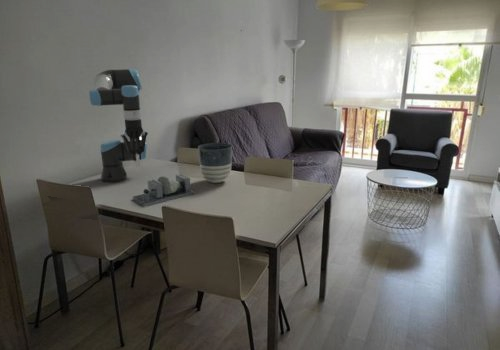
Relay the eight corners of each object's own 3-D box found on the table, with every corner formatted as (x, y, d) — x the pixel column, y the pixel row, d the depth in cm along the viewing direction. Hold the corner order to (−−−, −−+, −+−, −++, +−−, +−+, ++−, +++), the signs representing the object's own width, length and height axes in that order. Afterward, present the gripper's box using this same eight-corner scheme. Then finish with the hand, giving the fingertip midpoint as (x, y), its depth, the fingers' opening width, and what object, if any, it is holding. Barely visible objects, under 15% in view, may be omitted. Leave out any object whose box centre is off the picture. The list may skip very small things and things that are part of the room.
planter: (193, 184, 215) (191, 148, 209) (209, 175, 232) (208, 142, 226) (224, 188, 208) (222, 150, 202) (238, 178, 225) (237, 144, 219)
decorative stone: (161, 197, 189) (172, 181, 188) (149, 186, 194) (160, 170, 194) (177, 202, 200) (187, 187, 200) (165, 191, 206) (175, 177, 205)
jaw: (140, 195, 192) (138, 181, 190) (154, 192, 197) (152, 178, 195) (148, 200, 185) (147, 186, 183) (162, 197, 190) (161, 183, 188)
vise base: (132, 199, 192) (131, 182, 190) (180, 187, 209) (179, 172, 207) (144, 206, 182) (142, 189, 179) (193, 193, 199) (192, 177, 196)
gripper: (122, 121, 169) (128, 170, 176) (149, 118, 177) (153, 165, 184) (116, 119, 175) (121, 167, 182) (142, 116, 183) (146, 162, 190)
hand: (137, 166), depth 183 cm, fingers closed
